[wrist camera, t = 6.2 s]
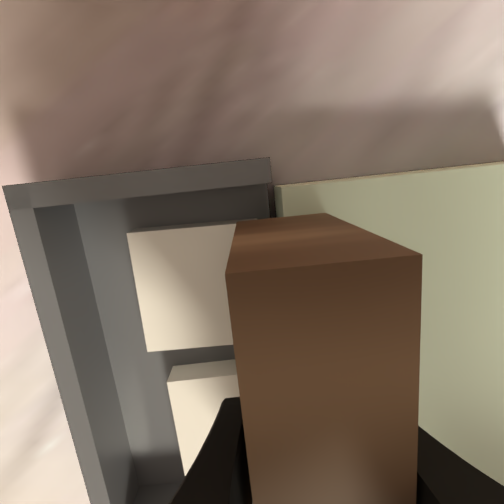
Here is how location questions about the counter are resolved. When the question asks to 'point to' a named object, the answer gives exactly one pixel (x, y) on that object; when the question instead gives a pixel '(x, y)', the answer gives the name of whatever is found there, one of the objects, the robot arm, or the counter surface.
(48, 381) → the counter surface
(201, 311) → the tile
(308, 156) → the counter surface
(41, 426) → the counter surface
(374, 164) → the counter surface
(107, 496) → the tray
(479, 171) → the plate
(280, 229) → the brown wooden block
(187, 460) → the tile
